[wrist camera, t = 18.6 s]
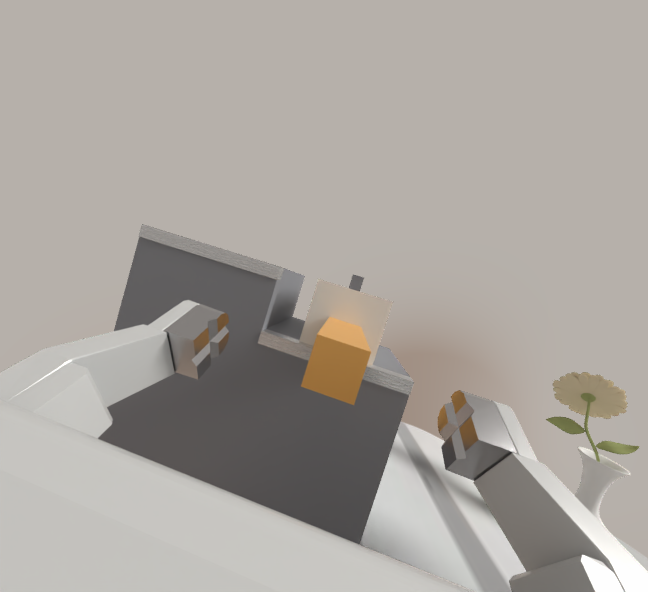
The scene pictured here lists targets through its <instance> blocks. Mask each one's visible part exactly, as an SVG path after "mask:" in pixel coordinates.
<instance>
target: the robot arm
mask: <svg viewBox="0 0 648 592" xmlns="http://www.w3.org/2000/svg"><path fill="white" fill-rule="evenodd" d="M228 322H229V318H228V314H226V313H224V312H222V311H219V310H216V309H213V308H211V307H208V306H205V305H202V304H198V303H196V302H193V301H190V300H185V301H183V302H181V303H180V304H178V305H177V306H175V307H174V308H172V309H171V310H170V311H168V312H167V313H165V314H164V315H162V316H161V317H159V318H158V319H156V320H155V321H154V322H152V323H151V324H149V325H148V326H147V325H144V324H142V325H138V326H134V327H130V328H126V329H122V330H118V331H114V332H110V333H106V334H102V335H98V336H94V337H90V338H86V339H82V340H78V341H74V342H70V343H66V344H62V345H57V346H53V347H49V348H46V349H42V350H40V351H38V352H36V353H34V354H33V355H31V356H29V357H27V358H25V359H24V360H22V361H20V362H18V363H16V364H15V365H13V366H11V367H9V368H7V369H6V370H4V371H2V372H0V592H475V591H473V590H470V589H468V588H465V587H463V586H460V585H458V584H455V583H453V582H450V581H448V580H445V579H443V578H441V577H438V576H436V575H433V574H431V573H428V572H426V571H423V570H421V569H418V568H416V567H413V566H411V565H408V564H406V563H404V562H401V561H399V560H396V559H394V558H391V557H389V556H386V555H384V554H381V553H379V552H376V551H374V550H371V549H369V548H367V547H364V546H362V545H359V544H357V543H354V542H352V541H349V540H347V539H344V538H342V537H339V536H337V535H334V534H332V533H330V532H327V531H325V530H322V529H320V528H317V527H315V526H312V525H310V524H307V523H305V522H302V521H300V520H297V519H295V518H293V517H290V516H288V515H285V514H283V513H280V512H278V511H275V510H273V509H270V508H268V507H265V506H263V505H260V504H258V503H256V502H253V501H251V500H248V499H246V498H243V497H241V496H238V495H236V494H233V493H231V492H228V491H226V490H223V489H221V488H218V487H216V486H214V485H211V484H209V483H206V482H204V481H201V480H199V479H196V478H194V477H191V476H189V475H186V474H184V473H181V472H179V471H177V470H174V469H172V468H169V467H167V466H164V465H162V464H159V463H157V462H154V461H152V460H149V459H147V458H144V457H142V456H140V455H137V454H135V453H132V452H130V451H127V450H125V449H122V448H120V447H117V446H115V445H112V444H110V443H107V442H105V441H103V440H100V439H98V437H99V436H100V435H101V434H102V433H103V432H104V431H106V430H107V429H108V428H109V427H110V426H111V425H112V421H113V419H112V417H111V415H110V413H109V411H108V409H107V407H108V406H110V405H112V404H114V403H116V402H118V401H120V400H122V399H124V398H126V397H128V396H130V395H132V394H134V393H136V392H138V391H140V390H142V389H144V388H146V387H149V386H151V385H153V384H155V383H157V382H159V381H161V380H163V379H165V378H167V377H169V376H171V375H173V374H175V372H176V373H179V374H182V375H185V376H188V377H192V378H195V379H199V378H200V377H201V376H202V375H203V374H204V372H205V371H206V370H207V369H208V368H209V367H210V366H211V359H212V358H215V357H217V356H219V355H220V354H221V353H222V351H223V350H224V348H225V346H226V344H227V343H228V338H229V331H228V329H227V328H226V325H227V323H228ZM451 398H452V402H451V403H448V404H445V405H444V406H443V407H442V409H441V410H440V413H439V416H438V429H439V433H440V435H441V436H442V438H443V439H444V441H445V442H444V444H443V445H442V453H443V458H444V464H445V469H446V470H448V471H450V472H453V473H455V474H458V475H461V476H463V477H466V478H468V479H471V480H473V481H474V484H475V486H476V487H477V489H478V491H479V492H480V494H481V496H482V497H483V499H484V501H485V502H486V504H487V506H488V507H489V509H490V511H491V512H492V514H493V516H494V518H495V519H496V521H497V523H498V524H499V526H500V528H501V529H502V531H503V533H504V534H505V536H506V538H507V539H508V541H509V543H510V544H511V546H512V548H513V549H514V551H515V553H516V554H517V556H518V558H519V559H520V561H521V563H522V564H523V566H524V568H525V569H526V571H527V572H525V573H521V574H518V575H515V576H512V578H511V579H510V580H509V583H510V587H511V590H512V592H648V572H647V571H646V570H645V569H644V568H643V567H642V565H641V564H640V563H639V562H638V561H637V560H636V559H635V558H634V557H633V556H632V555H631V554H630V553H629V552H628V551H627V550H626V549H625V548H624V547H623V546H622V545H621V544H620V543H619V541H618V540H617V539H616V538H615V537H614V536H613V535H612V534H611V533H610V532H609V531H608V530H607V529H606V528H605V527H604V526H603V525H602V524H601V523H600V522H599V521H598V520H597V519H596V517H595V516H594V515H593V514H592V513H591V512H590V511H589V510H588V509H587V508H586V507H585V506H584V505H583V504H582V503H581V502H580V501H579V500H578V499H577V498H576V497H575V496H574V495H573V493H572V492H571V491H570V490H568V488H567V487H566V486H565V485H564V484H563V483H562V482H561V481H560V480H559V479H558V478H557V477H556V476H555V475H554V474H553V473H552V472H551V471H550V469H549V468H548V467H546V466H545V464H544V463H541V462H538V461H537V459H536V456H535V454H534V452H533V450H532V448H531V446H530V444H529V442H528V440H527V438H526V436H525V434H524V432H523V430H522V428H521V426H520V424H519V421H518V419H517V417H516V415H515V413H514V411H513V410H512V409H511V408H510V407H509V406H508V405H504V404H501V403H498V402H495V401H490V400H488V399H485V398H482V397H479V396H476V395H473V394H470V393H467V392H463V391H460V390H459V391H456V392H455V393H454V394H453V395H452V396H451Z"/></svg>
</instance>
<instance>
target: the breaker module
mask: <svg viewBox="0 0 648 592" xmlns="http://www.w3.org/2000/svg"><path fill="white" fill-rule="evenodd" d="M363 279H364V278H362V277H360V276H356V275H353V276H352V280H351V283H350V286H349V288H346V287H343V286H340V285H336V284H333V283H330V282H327V281H324V280H321V279H318V282H317V285H316V288H315V292H314V295H313V298H312V302H311V304H310V308H309V311H308V314H307V318H306V321H305V324H304V327H303V330H302V334H301V337H300V340H299V341H301V342H304V343H307V344H310V345H313V349H312V352H311V355H310V359H309V362H308V365H307V368H306V371H305V375H304V378H303V381H302V384H301V387H304V388H307V389H309V390H312V391H315V392H318V393H321V394H324V395H326V396H329V397H332V398H335V399H338V400H341V401H343V402H346V403H349V404H352V405H354V403H355V400H356V397H357V394H358V391H359V388H360V385H361V382H362V379H363V376H364V373H365V369H366V366H367V364H369V365H373V362H374V359H375V356H376V353H377V350H378V347H379V344H380V340H381V338H382V335H383V332H384V329H385V325H386V322H387V319H388V316H389V313H390V310H391V307H392V304H393V302H392V301H388V300H385V299H382V298H379V297H375V296H372V295H369V294H366V293H363V292H360V289H361V285H362V282H363Z"/></svg>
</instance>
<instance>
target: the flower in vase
mask: <svg viewBox="0 0 648 592" xmlns="http://www.w3.org/2000/svg"><path fill="white" fill-rule="evenodd" d="M613 385H614V383H613V381H610V380H605V379H604V378H603V377H602V376H601V375H595V376H594V375H590V374H589V373H587V372H583V373H582V374H578V373H575V372H573V373H571V374H566V377H565V376H562V377H560V381H558V380H555V381H554V383H553V386H554V387H555V388H553V390H554V391H555V392H556V394H555V398H556V399H557V400H560V403H562V404H564V405H569V409H571V410H572V411H574V412H576V413H579V414H581V415H586V417H585V423H584V424H585V425H584V427H585V430H584V429H583V428H582V427H581V426H580V425H578V424H577V423H576V422H575V421H573V420H571V419H569V418H566V417H552V418H548V419H546V420H547V421H549V422H550V423H552V424H554V425H555V426H557V427H558V428H560V429H561V430H563V431H565V432H567V433H569V434H580V433H584V432H586V434H587V436H588V439H589V441H590V443H591V445H592V447H593V450H594V451H591V450H589V449H586V448H583V447H578V450H579V452H580V455H581V458H582V462H583V473H582V479H581V482H580V486H579V488H578V490H577V493H576V494H575V495H574V496H575V497H576V498H577V499H578V500H579V501H580V502H581V503H582V504H583V505H584V506H585V507H586V508H587V509H588V510H589V511H590V512H591V513H592V514H593V515H594V516H595V517H596V519H597V520H598V521H599V522H600V523H601V524H602V525H603V526H604V524H603V522H602V521H601V519H600V515H599V507H600V504H601V500H602V498H603V496H604V494H605V492H606V491H607V489H608V488H609V486H610V485H611V484H612V483H613V482H614V481H616V480H617V479H619V478H621V477H625V476H629V475H631V473H630V472H629V471H628V470H627V469H625V468H624V467H622V466H620V465H619V464H617V463H616V462H614V461H612V460H610V459H608V458H606V457H605V456H602V455H600V454H598V452H597V450H596V447H598V448H599V449H602V450H606V451H609V452H612V453H617V454H629V453H632V452H634V451H636V450H637V449H638V448H639V446H630V445H624V444H620V443H615V442H610V441H603V442H601V443H599V444H597V445H596V446H595V445H594V443H593V441H592V439H591V437H590V434H589V431H588V427H587V425H588V424H587V423H588V417H589V416H591V417H603V418H605V419H610V418H611V415H612V416H618V415H619V413H625V412H626V410H625V409H626V408H627V404H628V403H627V402H626V401H624V400H626V395H625V391H624V390H622V389H620V388H618V387H612V386H613ZM604 527H605V526H604ZM605 528H606V527H605Z"/></svg>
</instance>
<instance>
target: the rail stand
mask: <svg viewBox="0 0 648 592" xmlns="http://www.w3.org/2000/svg"><path fill="white" fill-rule="evenodd" d="M304 277H305V276H303V275H301V274H298V273H295V272H292V271H290V270H287V269H285V268H282V267H279V266H276V265H272V264H269V263H266V262H262V261H260V260H256V259H253V258H250V257H247V256H243V255H240V254H237V253H234V252H231V251H227V250H224V249H221V248H217V247H214V246H211V245H208V244H205V243H201V242H198V241H195V240H192V239H189V238H185V237H182V236H179V235H175V234H172V233H169V232H166V231H163V230H160V229H156V228H153V227H150V226H147V225H143V224H142V226H141V230H140V233H139V240H138V244H137V248H136V251H135V255H134V259H133V263H132V267H131V270H130V273H129V278H128V281H127V285H126V289H125V292H124V296H123V299H122V303H121V307H120V310H119V314H118V318H117V321H116V325H115V329H114V331H118V330H122V329H126V328H130V327H134V326H138V325H142V324H144V325H147V326H148V325H149V324H151V323H152V322H154V321H155V320H156V319H158V318H159V317H161V316H162V315H164V314H165V313H167V312H168V311H170V310H171V309H172V308H174V307H175V306H177V305H178V304H180V303H181V302H183V301H185V300H190V301H193V302H196V303H198V304H202V305H205V306H208V307H211V308H213V309H216V310H219V311H222V312H224V313H226V314H228V318H229V322H228V323H227V325H226V328H227V329H228V331H229V338H228V343H227V344H226V346H225V348H224V350H223V351H222V353H221V354H220V355H219V356H217V357H215V358H212V359H211V366H210V367H209V368H208V369H207V370H206V371H205V372H204V374H203V375H202V376H201V377H200V378H199V379H195V378H192V377H188V376H185V375H182V374H179V373H176V372H175V374H173V375H171V376H169V377H167V378H165V379H163V380H161V381H159V382H157V383H155V384H153V385H151V386H149V387H146V388H144V389H142V390H140V391H138V392H136V393H134V394H132V395H130V396H128V397H126V398H124V399H122V400H120V401H118V402H116V403H114V404H112V405H110V406H108V407H107V409H108V411H109V413H110V415H111V417H112V419H113V421H112V425H111V426H110V427H109V428H108V429H107V430H106V431H104V432H103V433H102V434H101V435H100V436H99V437H98V439H100V440H103V441H105V442H107V443H110V444H112V445H115V446H117V447H120V448H122V449H125V450H127V451H130V452H132V453H135V454H137V455H140V456H142V457H144V458H147V459H149V460H152V461H154V462H157V463H159V464H162V465H164V466H167V467H169V468H172V469H174V470H177V471H179V472H181V473H184V474H186V475H189V476H191V477H194V478H196V479H199V480H201V481H204V482H206V483H209V484H211V485H214V486H216V487H218V488H221V489H223V490H226V491H228V492H231V493H233V494H236V495H238V496H241V497H243V498H246V499H248V500H251V501H253V502H256V503H258V504H260V505H263V506H265V507H268V508H270V509H273V510H275V511H278V512H280V513H283V514H285V515H288V516H290V517H293V518H295V519H297V520H300V521H302V522H305V523H307V524H310V525H312V526H315V527H317V528H320V529H322V530H325V531H327V532H330V533H332V534H334V535H337V536H339V537H342V538H344V539H347V540H349V541H352V542H354V543H357V544H360V541H361V538H362V535H363V532H364V529H365V526H366V523H367V520H368V517H369V514H370V511H371V508H372V505H373V502H374V499H375V496H376V493H377V490H378V487H379V484H380V481H381V478H382V475H383V472H384V469H385V466H386V463H387V460H388V457H389V454H390V451H391V448H392V445H393V442H394V439H395V436H396V433H397V430H398V427H399V424H400V421H401V418H402V415H403V412H404V409H405V406H406V403H407V400H408V397H409V395H410V393H411V390H412V387H413V384H414V382H413V380H412V379H411V378H410V376H409V375H408V373H407V372H406V371H405V369H404V368H403V367H402V365H401V364H400V363H399V361H398V360H397V358H396V357H395V356H394V354H393V353H392V352H391V350H390V349H389V348H386V347H383V346H380V345H379V347H378V350H377V353H376V356H375V359H374V362H373V365H369V364H367V366H366V369H365V373H364V376H363V379H362V382H361V385H360V388H359V391H358V394H357V397H356V400H355V403H354V405H352V404H349V403H346V402H343V401H341V400H338V399H335V398H332V397H329V396H326V395H324V394H321V393H318V392H315V391H312V390H309V389H307V388H304V387H301V384H302V381H303V378H304V375H305V371H306V368H307V365H308V362H309V359H310V355H311V352H312V349H313V345H310V344H307V343H304V342H301V341H299V340H300V337H301V334H302V330H303V327H304V324H305V321H303V320H300V319H297V318H294V317H292V316H293V313H294V310H295V306H296V303H297V300H298V297H299V293H300V290H301V287H302V284H303V280H304Z"/></svg>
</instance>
